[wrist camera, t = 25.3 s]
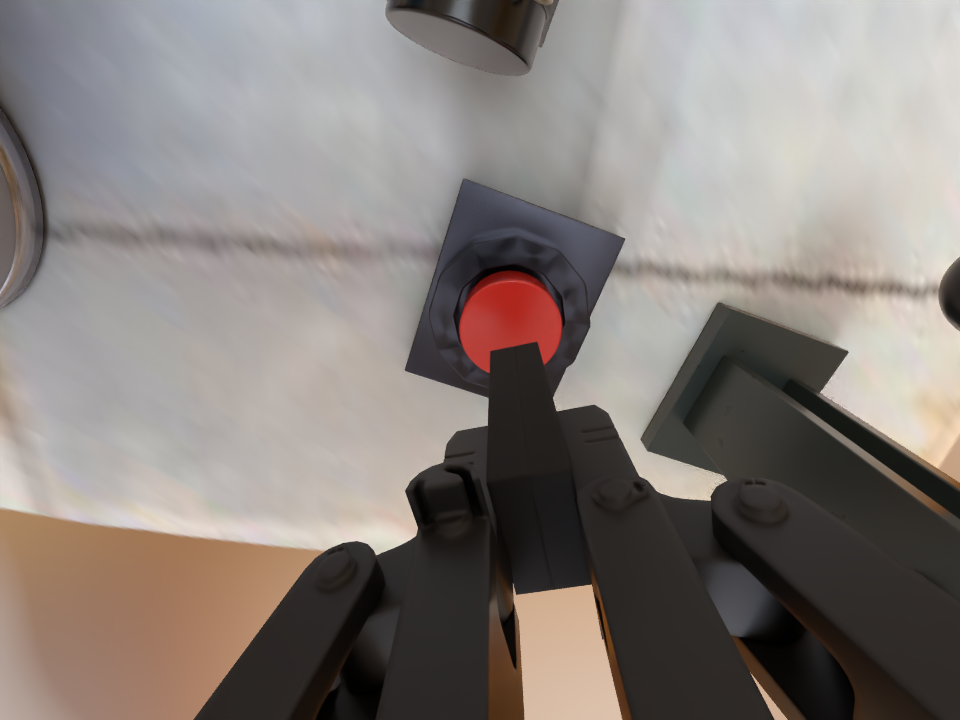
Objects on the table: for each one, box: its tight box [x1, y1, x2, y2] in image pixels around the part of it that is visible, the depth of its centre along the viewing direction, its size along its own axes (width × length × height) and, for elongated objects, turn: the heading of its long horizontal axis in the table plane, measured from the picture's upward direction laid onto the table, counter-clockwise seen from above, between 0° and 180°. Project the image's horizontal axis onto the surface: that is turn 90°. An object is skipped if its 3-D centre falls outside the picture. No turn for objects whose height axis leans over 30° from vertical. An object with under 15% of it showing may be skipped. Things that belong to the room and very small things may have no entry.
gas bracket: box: [641, 303, 960, 601], centre depth 18 cm, size 9×7×16 cm
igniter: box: [459, 271, 562, 373], centre depth 20 cm, size 4×4×2 cm
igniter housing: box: [405, 179, 625, 398], centre depth 22 cm, size 10×8×4 cm
